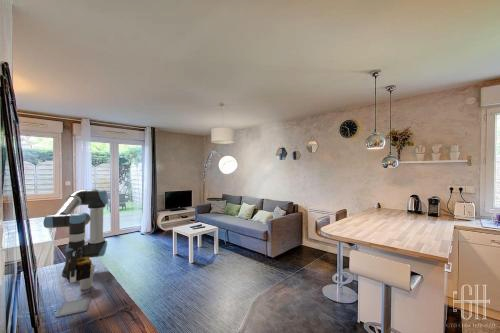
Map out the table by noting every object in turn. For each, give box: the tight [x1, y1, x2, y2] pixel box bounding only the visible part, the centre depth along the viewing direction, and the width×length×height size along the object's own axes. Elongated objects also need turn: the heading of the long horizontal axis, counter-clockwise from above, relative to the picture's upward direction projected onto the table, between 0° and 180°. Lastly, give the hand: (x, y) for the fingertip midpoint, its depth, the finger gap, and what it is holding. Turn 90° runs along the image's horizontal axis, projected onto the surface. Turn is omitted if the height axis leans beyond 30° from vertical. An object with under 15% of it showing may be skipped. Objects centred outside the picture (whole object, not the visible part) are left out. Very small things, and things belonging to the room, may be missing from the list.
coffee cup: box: [79, 262, 96, 291], centre depth 155 cm, size 10×10×15 cm
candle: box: [65, 256, 93, 284], centre depth 134 cm, size 10×10×10 cm
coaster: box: [54, 297, 92, 319], centre depth 133 cm, size 14×14×1 cm
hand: (75, 277), depth 133 cm, fingers closed on candle, 12 cm apart
